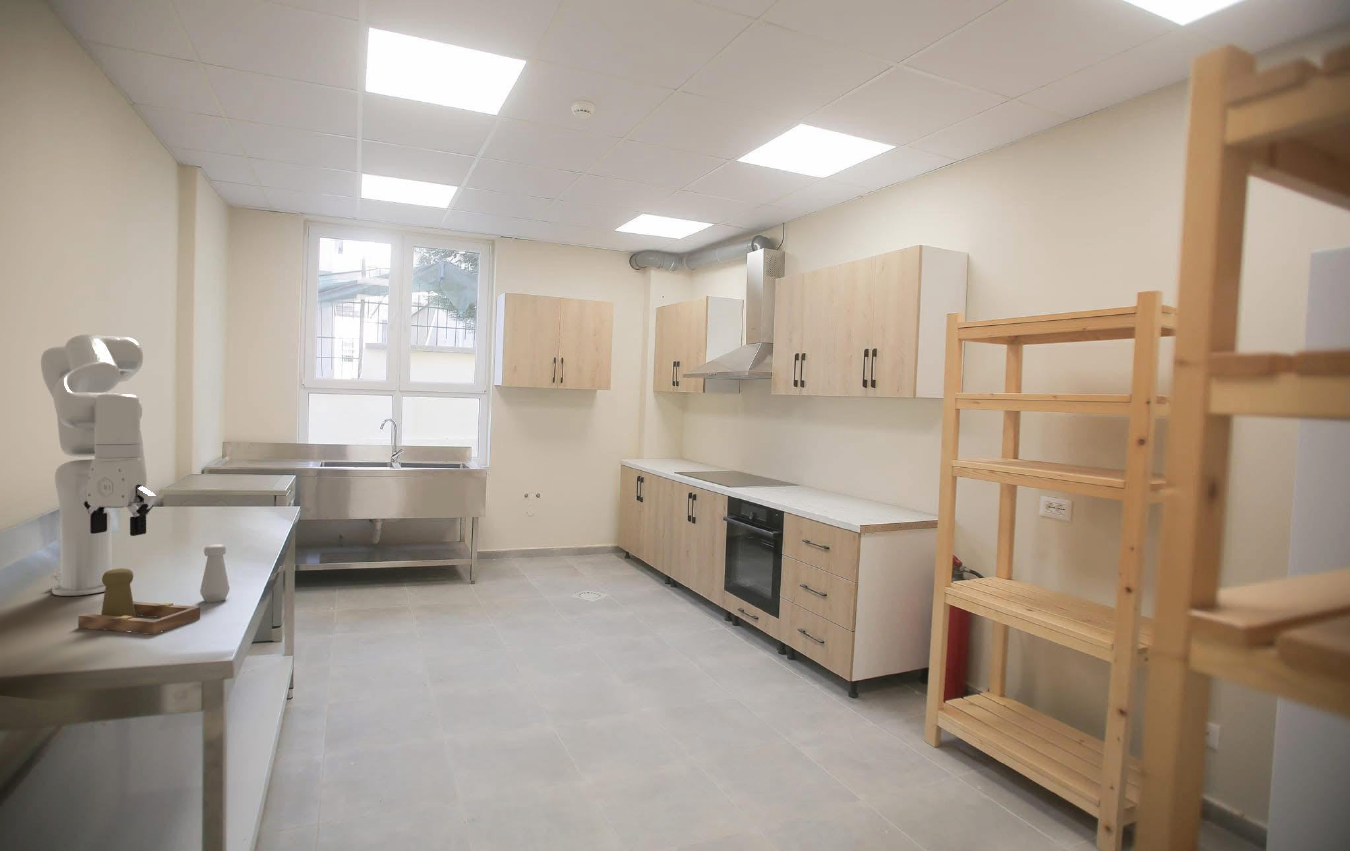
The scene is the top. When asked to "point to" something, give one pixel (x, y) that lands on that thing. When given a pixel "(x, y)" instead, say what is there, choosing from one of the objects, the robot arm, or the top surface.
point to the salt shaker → (215, 575)
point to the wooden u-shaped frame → (168, 611)
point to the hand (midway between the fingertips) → (118, 533)
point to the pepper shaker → (118, 593)
